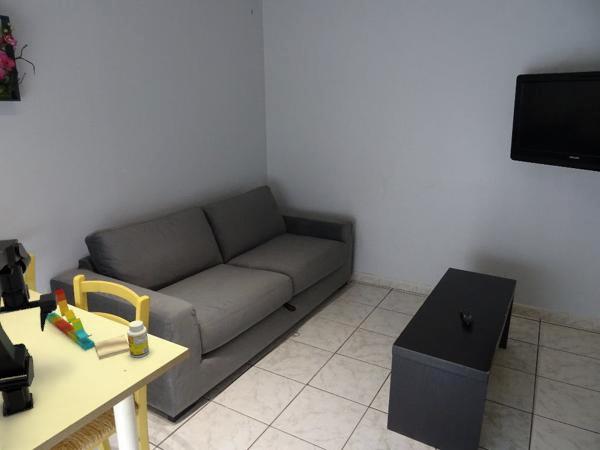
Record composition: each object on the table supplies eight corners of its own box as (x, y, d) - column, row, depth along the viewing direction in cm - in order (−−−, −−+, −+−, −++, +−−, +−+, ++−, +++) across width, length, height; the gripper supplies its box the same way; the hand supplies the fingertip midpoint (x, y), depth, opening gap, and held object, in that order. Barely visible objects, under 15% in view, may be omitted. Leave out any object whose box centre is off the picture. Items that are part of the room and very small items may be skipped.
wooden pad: (130, 350, 139) (130, 347, 138) (99, 359, 134) (99, 356, 134) (124, 337, 146) (124, 334, 146) (94, 345, 141) (94, 342, 141)
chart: (95, 347, 141) (89, 303, 137) (85, 351, 139) (78, 307, 135) (56, 316, 160) (49, 278, 156) (46, 320, 158) (39, 280, 154)
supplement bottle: (130, 349, 139) (126, 320, 136) (149, 346, 141) (145, 317, 138) (129, 359, 134) (125, 329, 131) (149, 356, 136) (145, 326, 133)
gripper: (52, 266, 129) (61, 313, 135) (-25, 278, 121) (-12, 327, 127) (51, 282, 120) (61, 332, 125) (-33, 296, 112) (-19, 349, 117)
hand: (23, 334), depth 124 cm, fingers open, 9 cm apart
